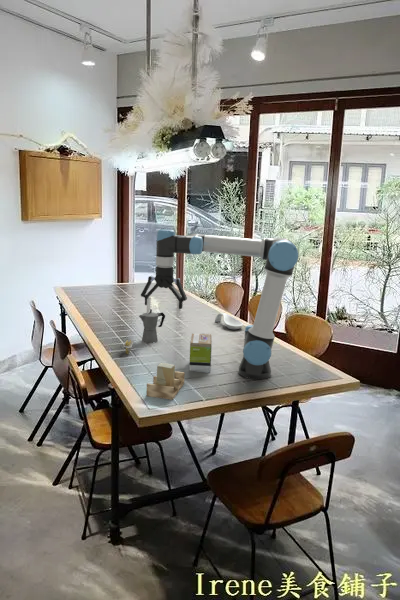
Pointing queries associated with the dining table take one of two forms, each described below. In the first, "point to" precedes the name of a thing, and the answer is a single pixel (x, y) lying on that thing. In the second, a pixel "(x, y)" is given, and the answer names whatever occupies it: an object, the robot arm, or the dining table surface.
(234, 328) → the spoon rest
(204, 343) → the tea box
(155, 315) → the coffeepot
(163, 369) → the skincare box
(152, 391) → the oak rack
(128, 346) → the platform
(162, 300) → the dining table surface
